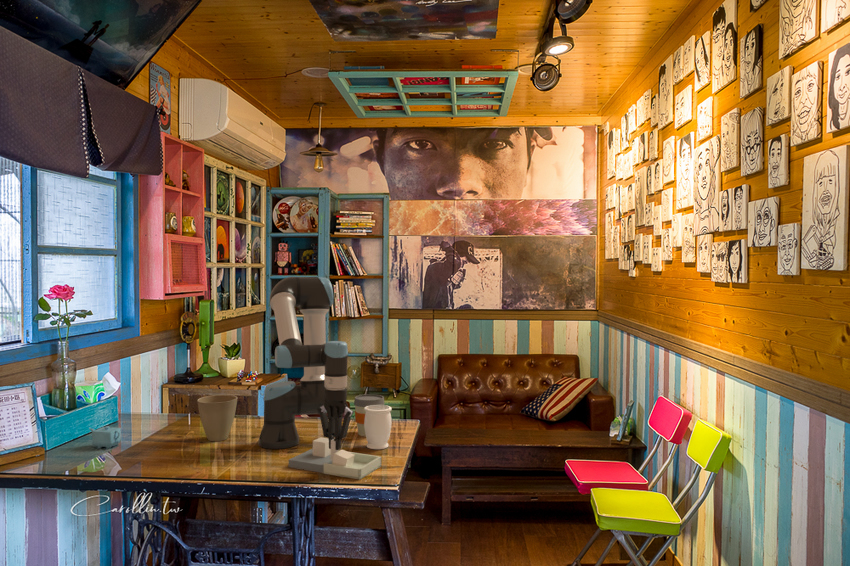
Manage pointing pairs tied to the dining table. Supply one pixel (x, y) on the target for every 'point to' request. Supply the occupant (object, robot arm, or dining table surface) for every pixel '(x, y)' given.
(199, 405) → the plant pot
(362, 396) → the reusable coffee cup
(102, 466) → the dining table surface
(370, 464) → the tray
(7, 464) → the dining table surface
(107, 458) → the dining table surface
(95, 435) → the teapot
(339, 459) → the block
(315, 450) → the block
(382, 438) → the jar
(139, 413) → the dining table surface
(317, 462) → the board
